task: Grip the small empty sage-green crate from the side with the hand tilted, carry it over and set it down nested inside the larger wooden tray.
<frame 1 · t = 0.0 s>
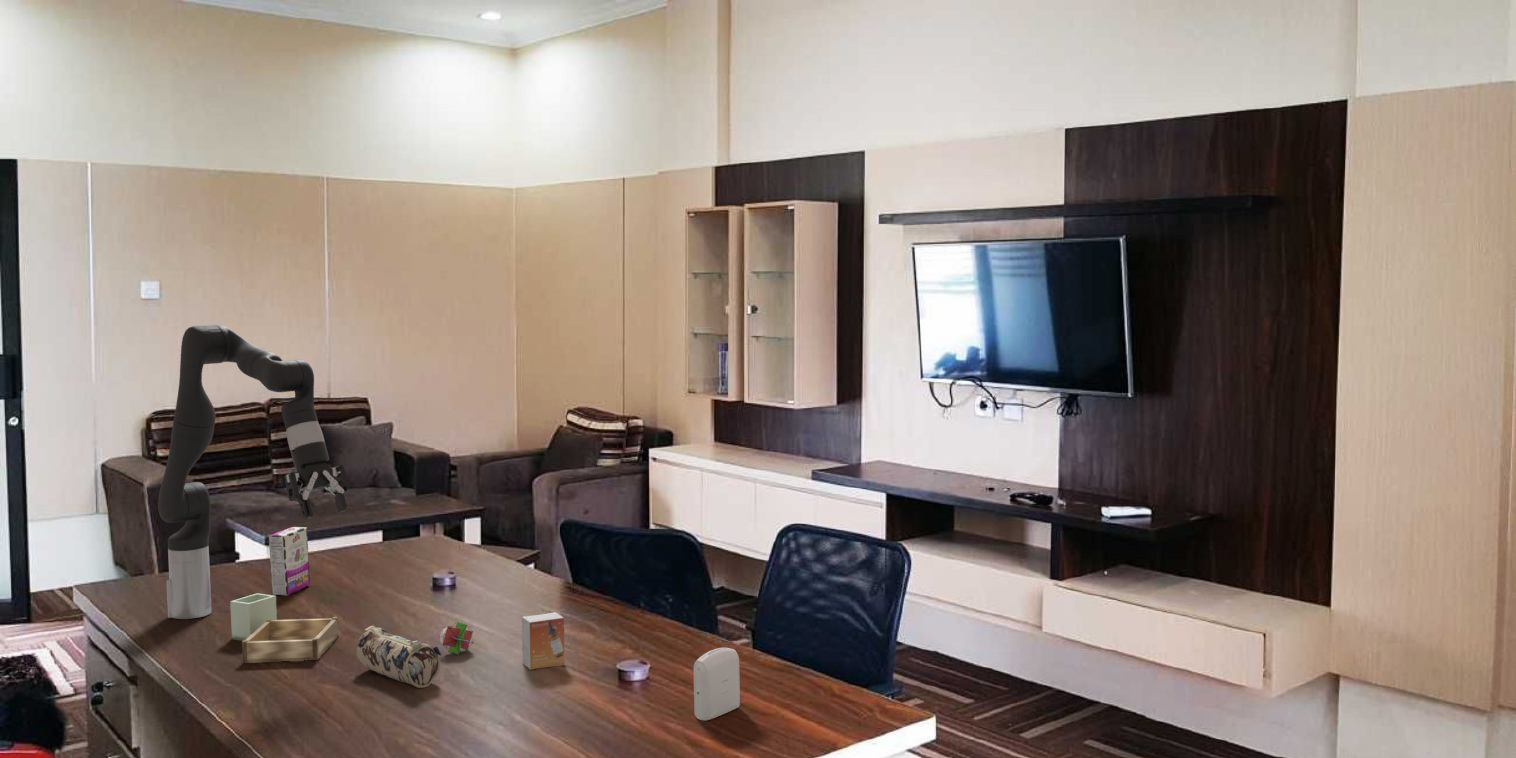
hand: (325, 514, 276), 31 cm above the table, tool tilted 20°, fingers open, 8 cm apart
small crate: (254, 636, 293), on the table
small box: (543, 665, 269), on the table
wooden tray: (292, 649, 282), on the table
photo printer: (717, 713, 239), on the table
pencil case: (398, 678, 262), on the table
candy bar box: (290, 591, 335), on the table
geometric puzzle: (458, 653, 279), on the table
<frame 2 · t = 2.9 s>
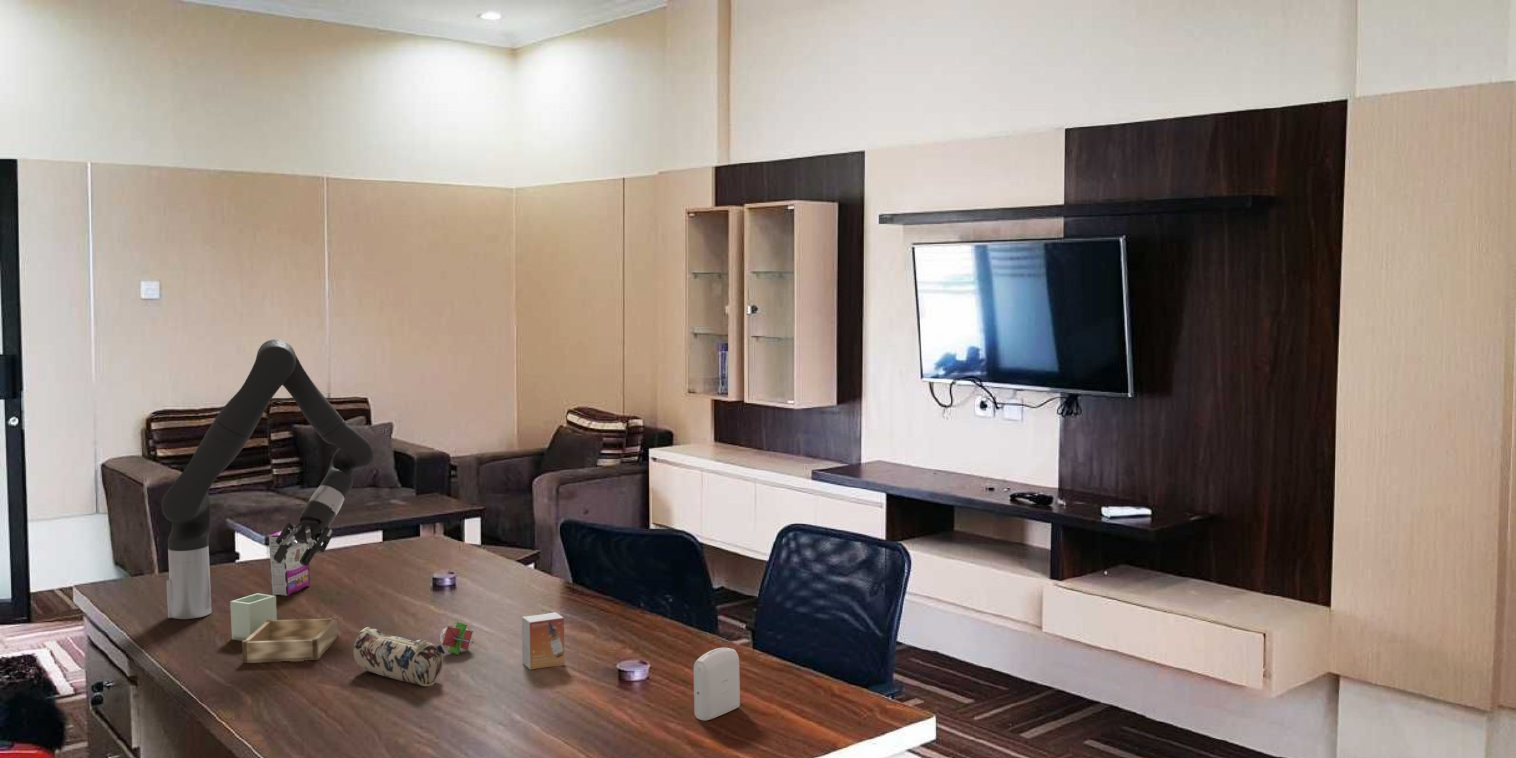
hand: (289, 562, 302), 15 cm above the table, tool tilted 45°, fingers open, 8 cm apart
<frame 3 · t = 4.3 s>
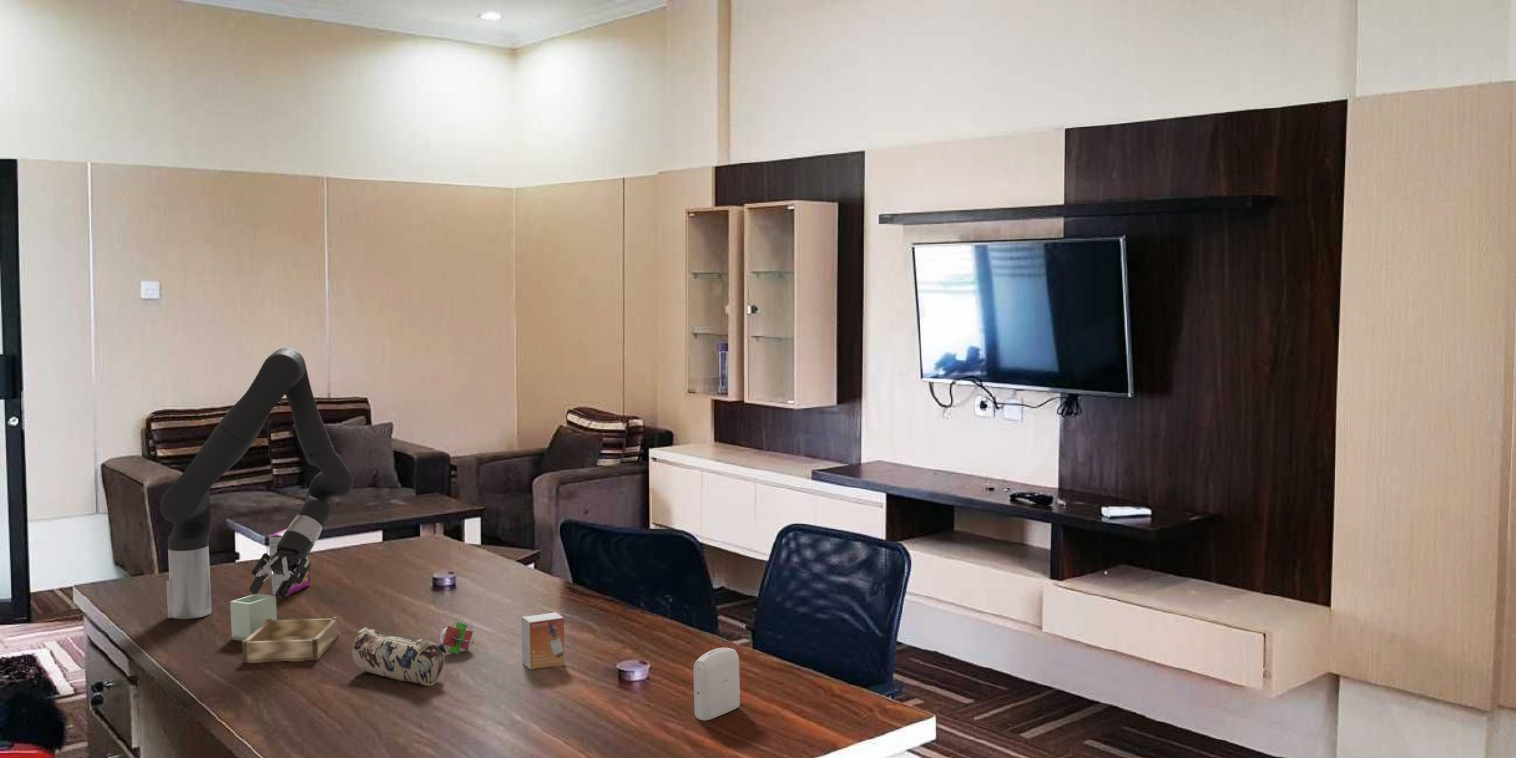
hand: (265, 594, 295), 9 cm above the table, tool tilted 45°, fingers open, 8 cm apart
nothing on the table moved.
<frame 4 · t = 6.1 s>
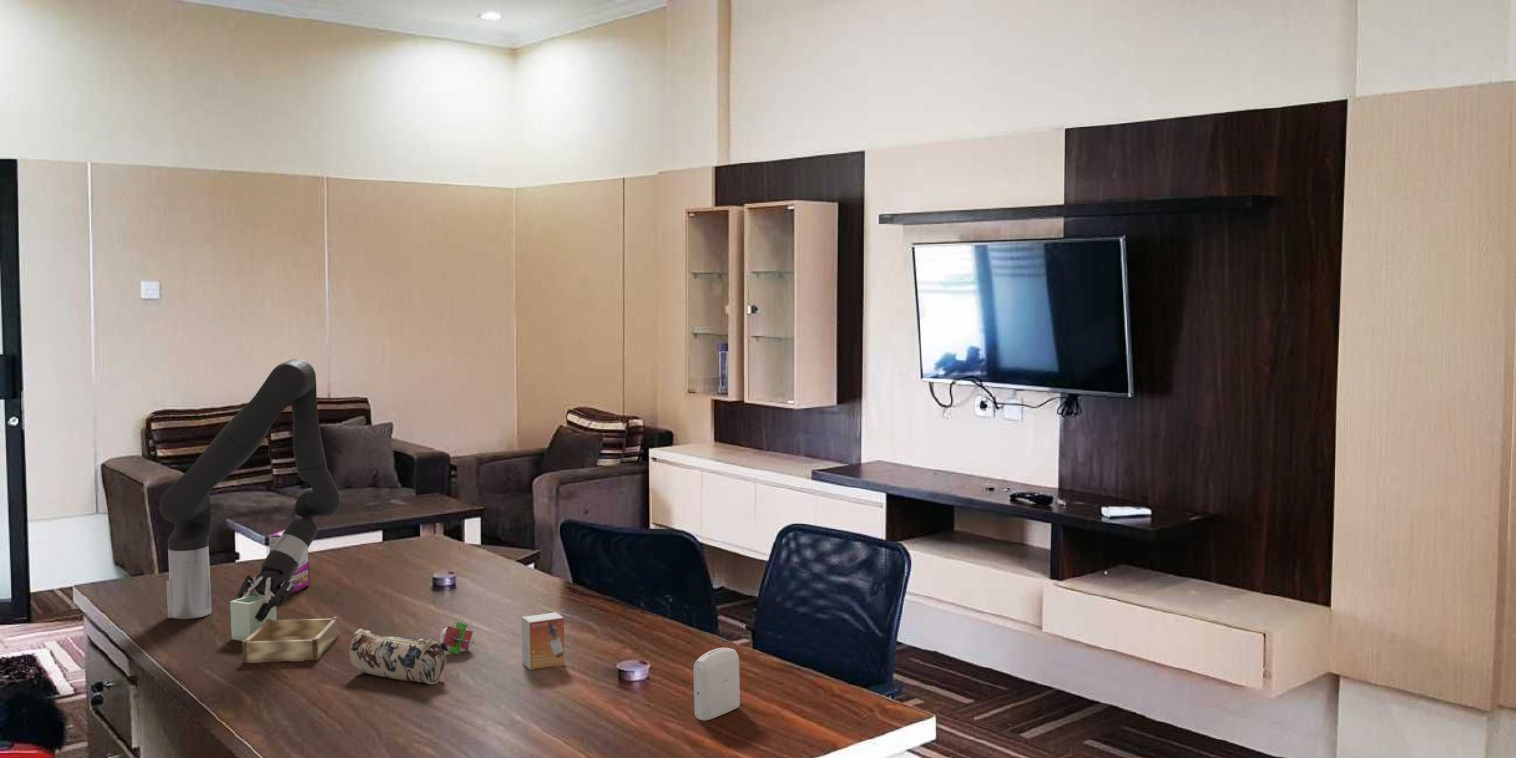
hand: (248, 617, 291), 5 cm above the table, tool tilted 45°, fingers closed on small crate, 6 cm apart
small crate: (254, 636, 293), on the table, touching gripper
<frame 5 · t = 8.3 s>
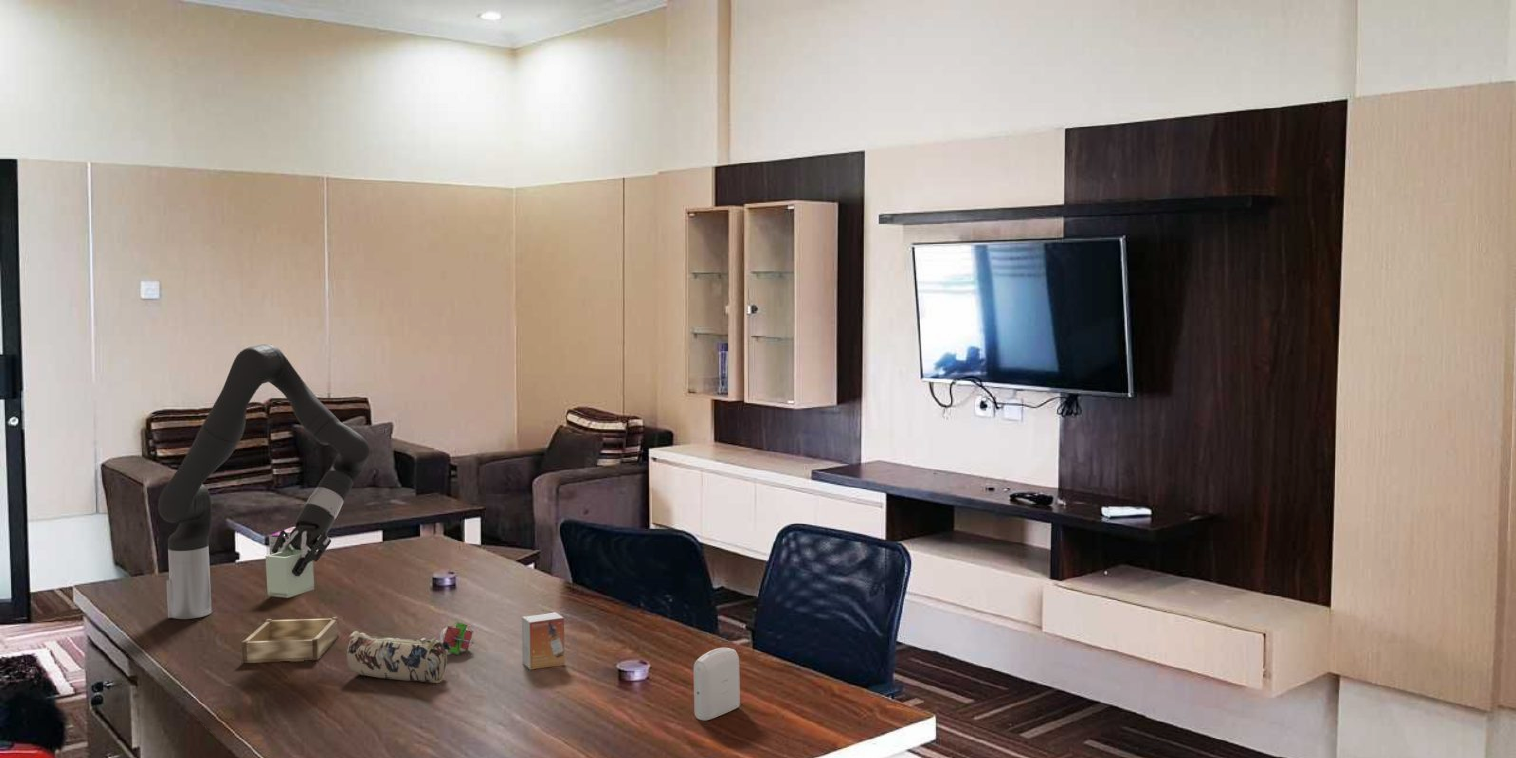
hand: (284, 573, 279), 18 cm above the table, tool tilted 45°, fingers closed on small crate, 6 cm apart
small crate: (291, 592, 281), point 13 cm above the table, touching gripper
when the fingers open (7 cm above the table, at t = 10.9 s): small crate drops 1 cm, resting on wooden tray.
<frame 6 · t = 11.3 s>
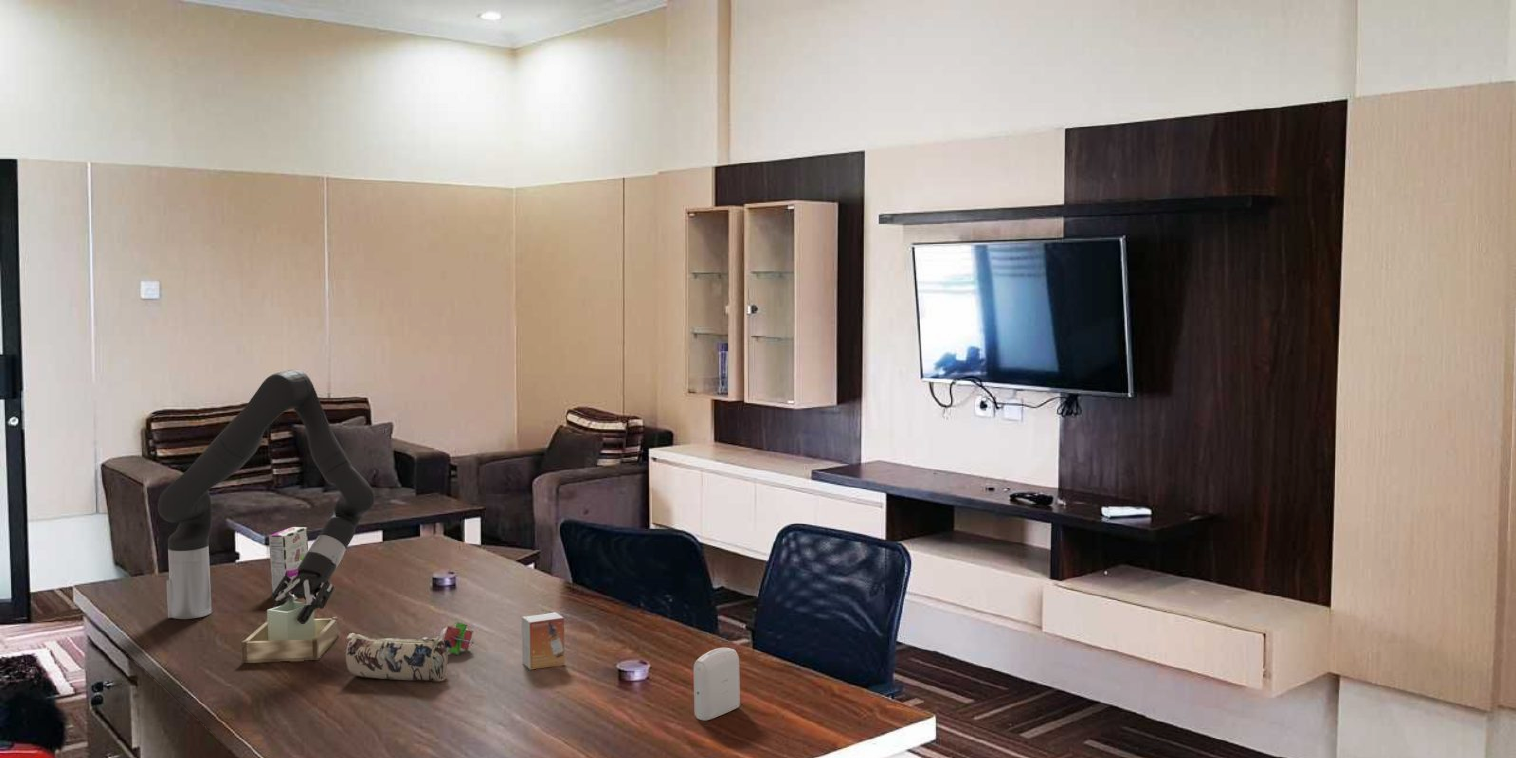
hand: (286, 620, 280), 7 cm above the table, tool tilted 45°, fingers open, 8 cm apart
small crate: (292, 645, 282), point 1 cm above the table, touching wooden tray
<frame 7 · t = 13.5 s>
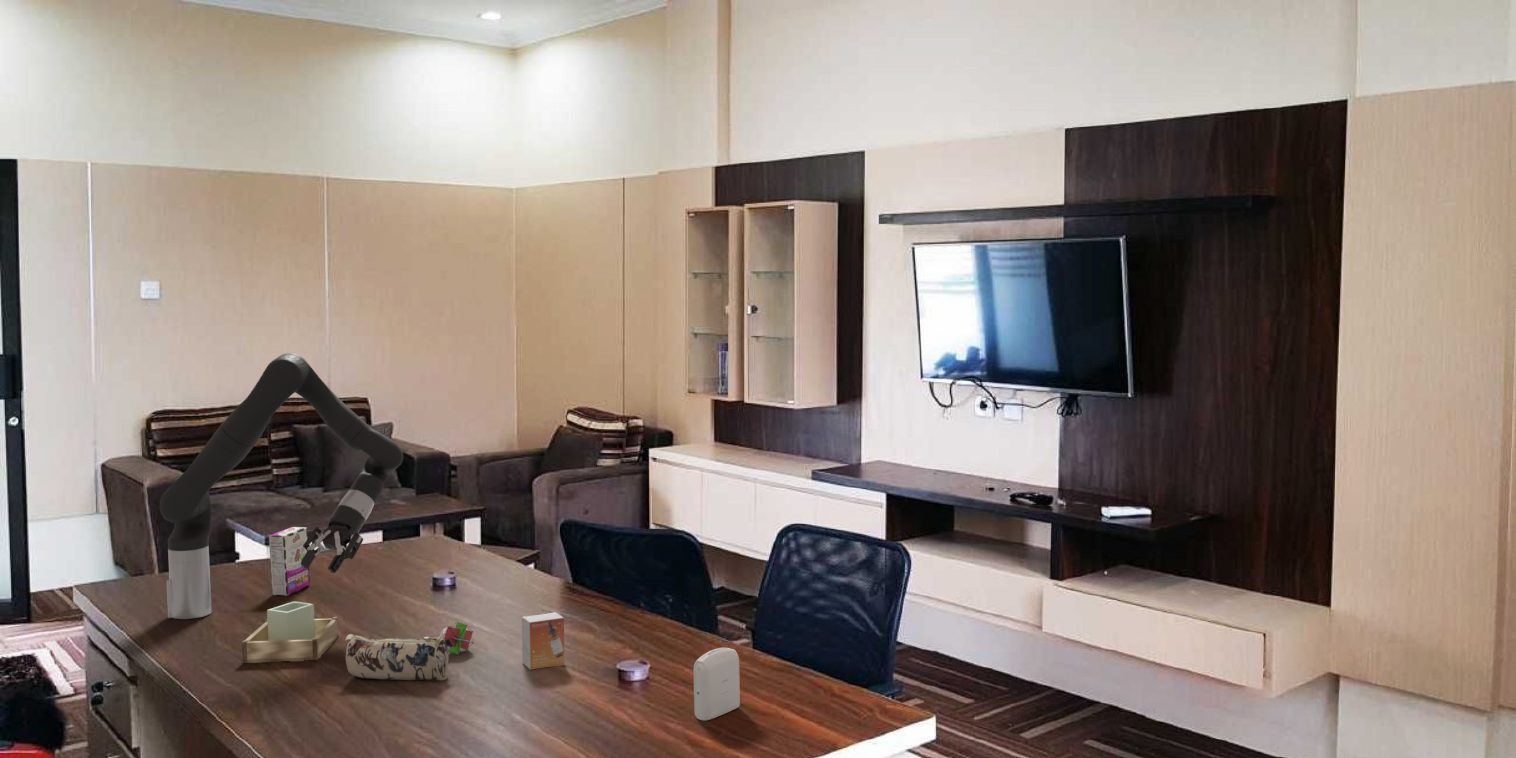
hand: (317, 568, 293), 16 cm above the table, tool tilted 45°, fingers open, 8 cm apart
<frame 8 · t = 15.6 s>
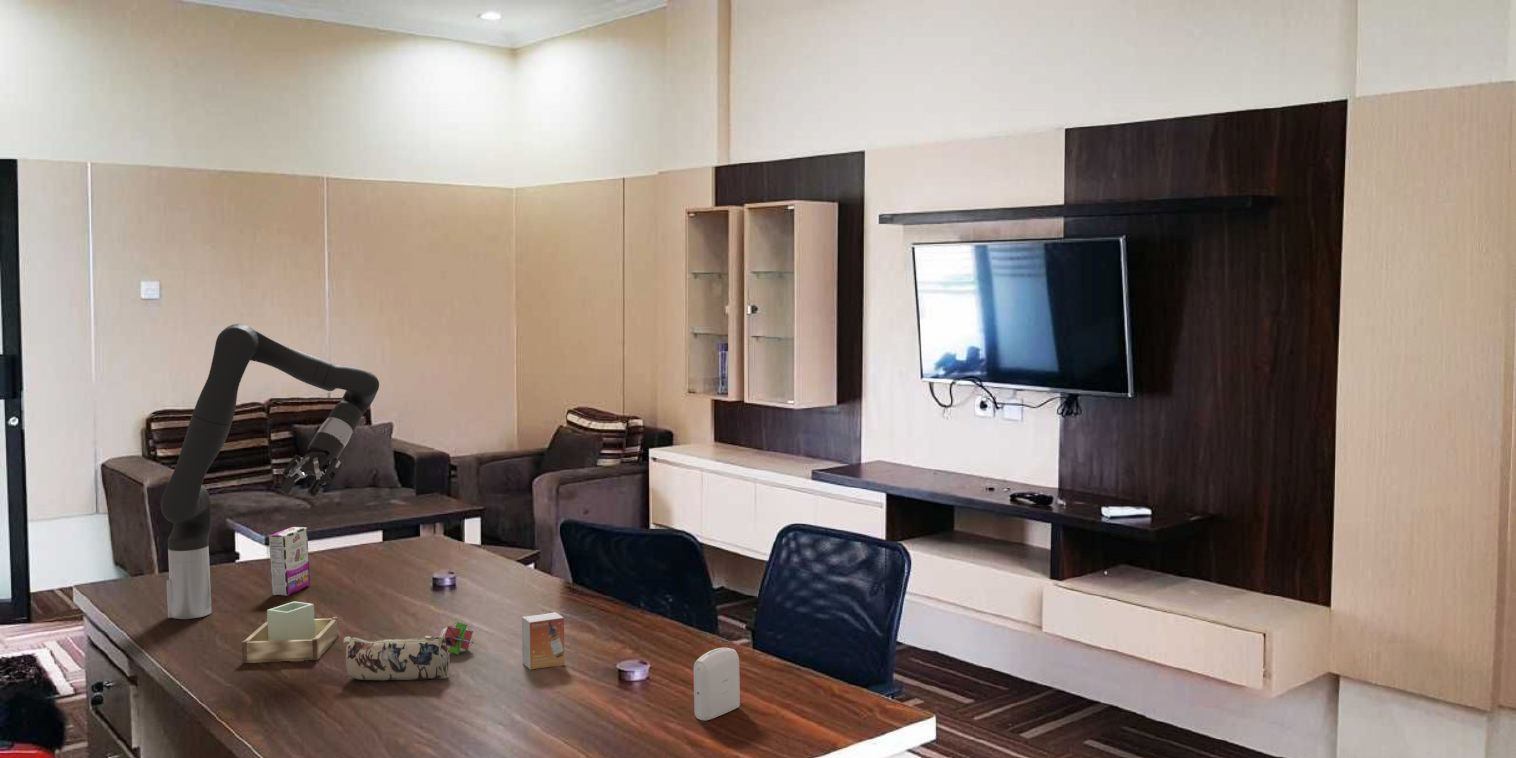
hand: (297, 493, 296), 33 cm above the table, tool tilted 45°, fingers open, 8 cm apart
at the end: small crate inside the target area on the wooden tray (0.2 cm from its centre), point 0.8 cm above the wooden tray's base; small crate tilted 0°; the gripper is holding nothing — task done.
